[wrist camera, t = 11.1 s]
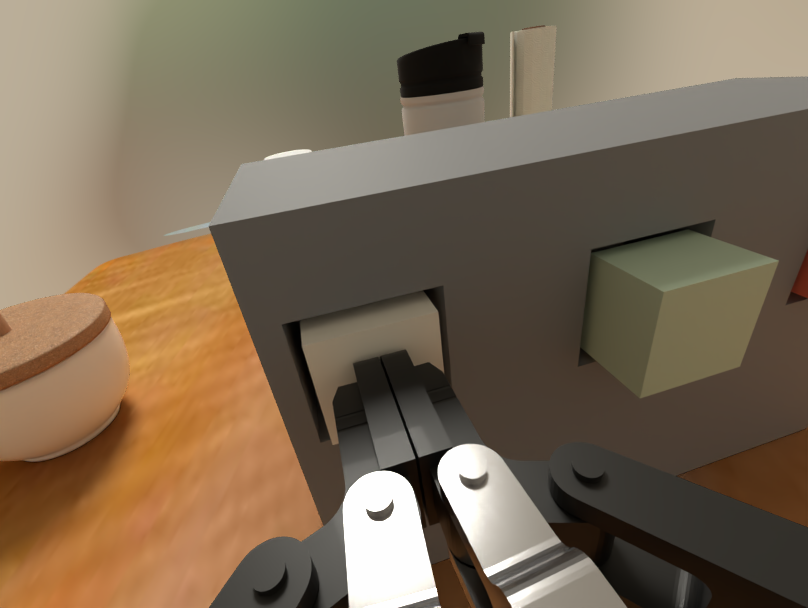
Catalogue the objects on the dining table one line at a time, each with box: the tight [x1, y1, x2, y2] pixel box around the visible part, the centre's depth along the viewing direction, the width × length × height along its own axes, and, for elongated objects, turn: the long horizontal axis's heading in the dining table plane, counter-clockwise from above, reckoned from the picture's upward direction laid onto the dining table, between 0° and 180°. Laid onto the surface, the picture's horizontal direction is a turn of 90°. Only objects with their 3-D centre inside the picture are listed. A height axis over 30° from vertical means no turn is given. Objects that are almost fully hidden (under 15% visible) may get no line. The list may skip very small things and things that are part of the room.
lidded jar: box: [0, 293, 130, 462], centre depth 26 cm, size 11×11×9 cm
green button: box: [580, 229, 779, 398], centre depth 12 cm, size 4×3×4 cm
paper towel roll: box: [510, 26, 556, 117], centre depth 62 cm, size 7×6×21 cm
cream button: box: [300, 290, 444, 445], centre depth 12 cm, size 4×3×4 cm
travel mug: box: [397, 32, 485, 136], centre depth 34 cm, size 6×7×20 cm
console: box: [209, 77, 808, 565], centre depth 18 cm, size 24×8×16 cm, turn 105°
